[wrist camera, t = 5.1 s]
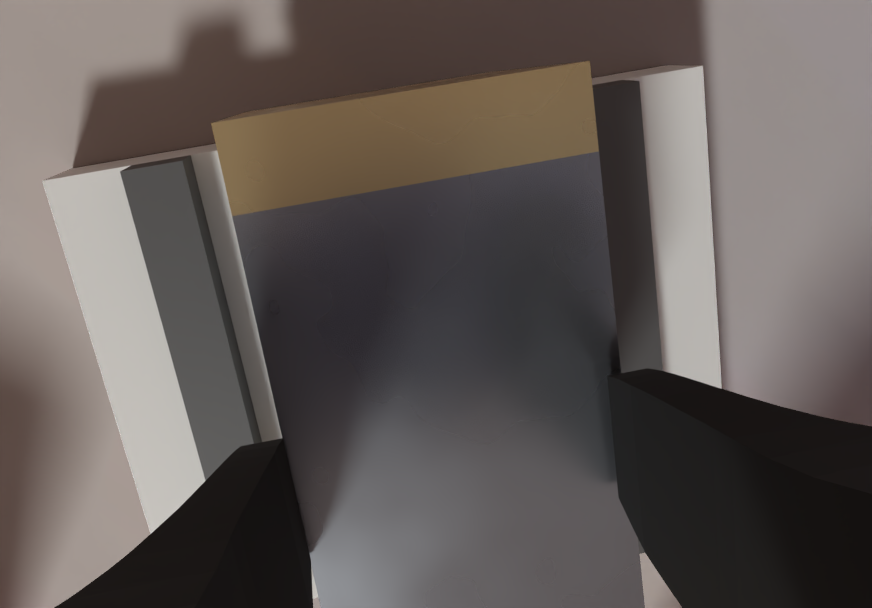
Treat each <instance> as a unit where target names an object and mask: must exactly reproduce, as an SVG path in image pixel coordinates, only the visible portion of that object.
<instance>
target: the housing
mask: <svg viewBox="0 0 872 608" xmlns="http://www.w3.org/2000/svg"><path fill="white" fill-rule="evenodd" d="M211 125H212V130H213V134H214V139H215V143H216V147H217V152H218V156H219V161H220V165H221V169H222V174H223V178H224V183H225V187H226V192H227V196H228V200H229V205H230V209H231V214H232V218H233V222H234V227H235V231H236V236H237V240H238V245H239V249H240V253H241V258H242V262H243V267H244V271H245V275H246V280H247V284H248V289H249V293H250V297H251V302H252V306H253V311H254V315H255V320H256V324H257V328H258V333H259V337H260V342H261V346H262V350H263V355H264V359H265V364H266V368H267V373H268V377H269V381H270V386H271V390H272V395H273V399H274V403H275V408H276V412H277V417H278V421H279V425H280V430H281V434H282V438H283V440H284V444H285V449H286V453H287V458H288V462H289V466H290V471H291V475H292V479H293V484H294V488H295V493H296V497H297V501H298V506H299V510H300V514H301V519H302V523H303V528H304V532H305V536H306V541H307V545H308V549H309V554H310V558H311V567H312V571H313V576H314V580H315V584H316V589H317V593H318V598H319V602H320V606H321V608H645V605H644V596H643V586H642V576H641V566H640V556H639V546H638V537H637V535H636V533H635V531H634V529H633V527H632V525H631V523H630V521H629V519H628V517H627V515H626V513H625V510H624V508H623V506H622V504H621V502H620V500H619V497H618V486H617V476H616V465H615V454H614V443H613V433H612V422H611V411H610V400H609V390H608V379H607V376H610V375H615V374H620V373H621V366H620V356H619V347H618V337H617V327H616V317H615V307H614V297H613V287H612V277H611V267H610V257H609V247H608V237H607V227H606V217H605V207H604V197H603V187H602V177H601V167H600V157H599V147H598V137H597V127H596V117H595V107H594V98H593V88H592V78H591V68H590V61H584V62H575V63H566V64H557V65H548V66H539V67H530V68H521V69H512V70H503V71H494V72H486V73H480V74H474V75H467V76H461V77H455V78H449V79H443V80H437V81H431V82H425V83H419V84H412V85H406V86H400V87H394V88H388V89H382V90H376V91H370V92H364V93H357V94H351V95H345V96H339V97H333V98H327V99H321V100H315V101H309V102H302V103H296V104H290V105H284V106H278V107H272V108H266V109H260V110H254V111H247V112H244V113H241V114H238V115H235V116H232V117H229V118H225V119H222V120H219V121H216V122H213V123H211Z"/></svg>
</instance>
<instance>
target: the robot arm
mask: <svg viewBox="0 0 872 608" xmlns="http://www.w3.org/2000/svg"><path fill="white" fill-rule="evenodd" d="M607 379H608V390H609V400H610V411H611V422H612V433H613V443H614V454H615V465H616V476H617V486H618V497H619V500H620V502H621V504H622V506H623V508H624V510H625V513H626V515H627V517H628V519H629V521H630V523H631V525H632V527H633V529H634V531H635V533H636V535H637V537H638V539H639V541H640V543H641V545H642V547H643V549H644V551H645V553H646V554H647V556H648V557H649V559H650V560H651V562H652V563H653V565H654V566H655V568H656V569H657V571H658V572H659V574H660V575H661V577H662V578H663V580H664V581H665V583H666V584H667V586H668V587H669V589H670V590H671V592H672V593H673V595H674V596H675V598H676V599H677V600H678V602H679V603H680V605H681V606H682V608H872V427H871V426H865V425H860V424H854V423H848V422H843V421H838V420H834V419H829V418H824V417H820V416H816V415H812V414H808V413H804V412H800V411H796V410H792V409H788V408H784V407H780V406H777V405H773V404H770V403H766V402H763V401H759V400H756V399H753V398H749V397H746V396H743V395H740V394H736V393H733V392H730V391H727V390H724V389H721V388H717V387H714V386H711V385H708V384H705V383H702V382H699V381H695V380H692V379H689V378H686V377H683V376H679V375H676V374H672V373H669V372H665V371H661V370H656V369H649V368H646V369H641V370H636V371H631V372H625V373H620V374H615V375H610V376H607ZM55 608H313V594H312V572H311V558H310V554H309V549H308V545H307V541H306V536H305V532H304V528H303V523H302V519H301V514H300V510H299V506H298V501H297V497H296V493H295V488H294V484H293V479H292V475H291V471H290V466H289V462H288V458H287V453H286V449H285V444H284V440H283V438H281V439H276V440H270V441H265V442H260V443H255V444H250V445H244V446H240V447H239V448H238V449H237V450H235V451H234V452H233V453H232V454H231V455H230V456H229V457H228V458H227V459H226V460H225V461H224V462H223V463H222V464H221V465H220V466H219V467H218V468H217V469H216V470H215V471H214V473H213V474H212V475H211V476H210V477H209V478H208V479H207V480H206V481H205V482H204V483H203V484H202V485H201V486H200V487H199V488H198V489H197V490H196V491H195V492H194V493H193V494H192V495H191V496H190V497H189V498H188V499H187V500H186V501H185V502H184V503H183V504H182V505H181V506H180V507H179V508H178V509H177V510H176V511H175V512H174V513H173V514H172V515H171V516H170V517H169V518H168V519H167V520H165V521H164V522H163V523H162V524H161V525H160V526H159V527H158V528H157V529H156V530H154V531H153V532H152V533H151V534H150V535H149V536H148V537H147V538H146V539H145V540H144V541H142V542H141V543H140V544H139V545H138V546H137V547H136V548H135V549H134V550H132V551H131V552H130V553H129V554H128V555H126V556H125V557H124V558H123V559H121V560H120V561H119V562H118V563H116V564H115V565H114V566H113V567H111V568H110V569H109V570H108V571H106V572H105V573H103V574H102V575H101V576H99V577H98V578H97V579H95V580H94V581H93V582H91V583H90V584H89V585H87V586H86V587H84V588H83V589H82V590H80V591H79V592H78V593H76V594H75V595H73V596H72V597H70V598H69V599H67V600H66V601H64V602H63V603H61V604H59V605H58V606H56V607H55Z"/></svg>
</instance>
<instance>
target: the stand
mask: <svg viewBox="0 0 872 608" xmlns="http://www.w3.org/2000/svg"><path fill="white" fill-rule="evenodd" d="M592 88H593V98H594V107H595V117H596V127H597V137H598V147H599V157H600V167H601V177H602V187H603V197H604V207H605V217H606V227H607V237H608V247H609V257H610V267H611V277H612V287H613V297H614V307H615V317H616V327H617V337H618V347H619V356H620V366H621V373H625V372H631V371H636V370H641V369H646V368H649V369H656V370H661V371H665V372H669V373H672V374H676V375H679V376H683V377H686V378H689V379H692V380H695V381H699V382H702V383H705V384H708V385H711V386H714V387H717V388H721V389H722V384H721V367H720V350H719V333H718V315H717V298H716V281H715V264H714V247H713V230H712V212H711V195H710V178H709V161H708V144H707V127H706V110H705V92H704V75H703V66H683V65H665V66H659V67H654V68H648V69H642V70H636V71H631V72H625V73H619V74H613V75H608V76H602V77H596V78H592ZM42 182H43V185H44V189H45V192H46V195H47V198H48V202H49V205H50V208H51V211H52V215H53V218H54V221H55V224H56V228H57V231H58V234H59V237H60V241H61V244H62V247H63V250H64V254H65V257H66V260H67V263H68V267H69V270H70V273H71V276H72V280H73V283H74V286H75V290H76V293H77V296H78V299H79V303H80V306H81V309H82V312H83V316H84V319H85V322H86V325H87V329H88V332H89V335H90V338H91V342H92V345H93V348H94V351H95V355H96V358H97V361H98V364H99V368H100V371H101V374H102V378H103V381H104V384H105V387H106V391H107V394H108V397H109V400H110V404H111V407H112V410H113V413H114V417H115V420H116V423H117V426H118V430H119V433H120V436H121V439H122V443H123V446H124V449H125V452H126V456H127V459H128V462H129V465H130V469H131V472H132V475H133V479H134V482H135V485H136V488H137V492H138V495H139V498H140V501H141V505H142V508H143V511H144V514H145V518H146V521H147V524H148V527H149V531H150V534H151V533H152V532H153V531H154V530H156V529H157V528H158V527H159V526H160V525H161V524H162V523H163V522H164V521H165V520H167V519H168V518H169V517H170V516H171V515H172V514H173V513H174V512H175V511H176V510H177V509H178V508H179V507H180V506H181V505H182V504H183V503H184V502H185V501H186V500H187V499H188V498H189V497H190V496H191V495H192V494H193V493H194V492H195V491H196V490H197V489H198V488H199V487H200V486H201V485H202V484H203V483H204V482H205V481H206V480H207V479H208V478H209V477H210V476H211V475H212V474H213V473H214V471H215V470H216V469H217V468H218V467H219V466H220V465H221V464H222V463H223V462H224V461H225V460H226V459H227V458H228V457H229V456H230V455H231V454H232V453H233V452H234V451H235V450H237V449H238V448H239V447H240V446H244V445H250V444H255V443H260V442H265V441H270V440H276V439H281V438H282V434H281V430H280V425H279V421H278V417H277V412H276V408H275V403H274V399H273V395H272V390H271V386H270V381H269V377H268V373H267V368H266V364H265V359H264V355H263V350H262V346H261V342H260V337H259V333H258V328H257V324H256V320H255V315H254V311H253V306H252V302H251V297H250V293H249V289H248V284H247V280H246V275H245V271H244V267H243V262H242V258H241V253H240V249H239V245H238V240H237V236H236V231H235V227H234V222H233V218H232V214H231V209H230V205H229V200H228V196H227V192H226V187H225V183H224V178H223V174H222V169H221V165H220V161H219V156H218V152H217V147H216V144H210V145H205V146H199V147H193V148H187V149H181V150H176V151H170V152H164V153H158V154H153V155H147V156H141V157H135V158H130V159H124V160H118V161H112V162H107V163H101V164H95V165H89V166H84V167H78V168H72V169H69V170H67V171H65V172H62V173H60V174H57V175H55V176H53V177H50V178H48V179H46V180H43V181H42ZM638 546H639V554H640V553H645V551H644V549H643V547H642V545H641V543H640V541H639V539H638ZM311 572H312V594H313V599H314V598H318V593H317V589H316V584H315V580H314V576H313V571H312V567H311Z"/></svg>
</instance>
